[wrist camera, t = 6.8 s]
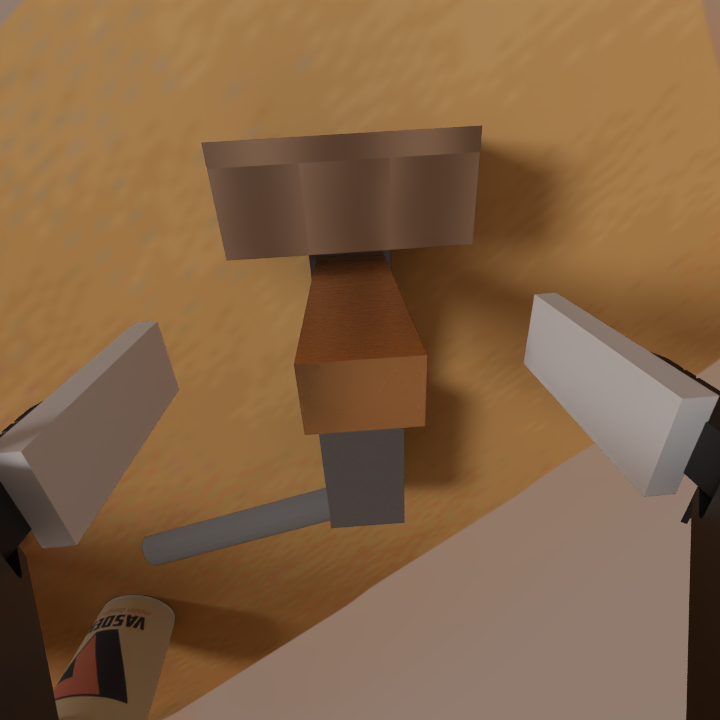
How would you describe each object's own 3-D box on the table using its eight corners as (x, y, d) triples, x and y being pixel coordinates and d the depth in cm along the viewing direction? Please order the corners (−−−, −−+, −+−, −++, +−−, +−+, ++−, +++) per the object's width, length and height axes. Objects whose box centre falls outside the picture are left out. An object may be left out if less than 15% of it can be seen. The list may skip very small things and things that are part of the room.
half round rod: (345, 510, 38) (346, 526, 37) (166, 558, 40) (159, 574, 39) (330, 480, 36) (330, 495, 35) (143, 531, 38) (134, 548, 37)
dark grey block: (332, 473, 35) (331, 528, 30) (321, 377, 30) (317, 423, 25) (394, 468, 35) (404, 522, 30) (393, 372, 31) (404, 416, 25)
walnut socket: (254, 233, 25) (226, 260, 19) (238, 144, 23) (201, 142, 17) (440, 221, 25) (472, 244, 19) (443, 132, 23) (482, 125, 17)
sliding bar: (335, 441, 32) (331, 668, 18) (306, 175, 23) (253, 216, 9) (388, 437, 32) (426, 660, 18) (381, 171, 23) (449, 204, 9)
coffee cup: (164, 584, 41) (104, 732, 31) (195, 632, 46) (151, 776, 35) (79, 595, 42) (-10, 747, 31) (117, 642, 46) (51, 789, 36)
